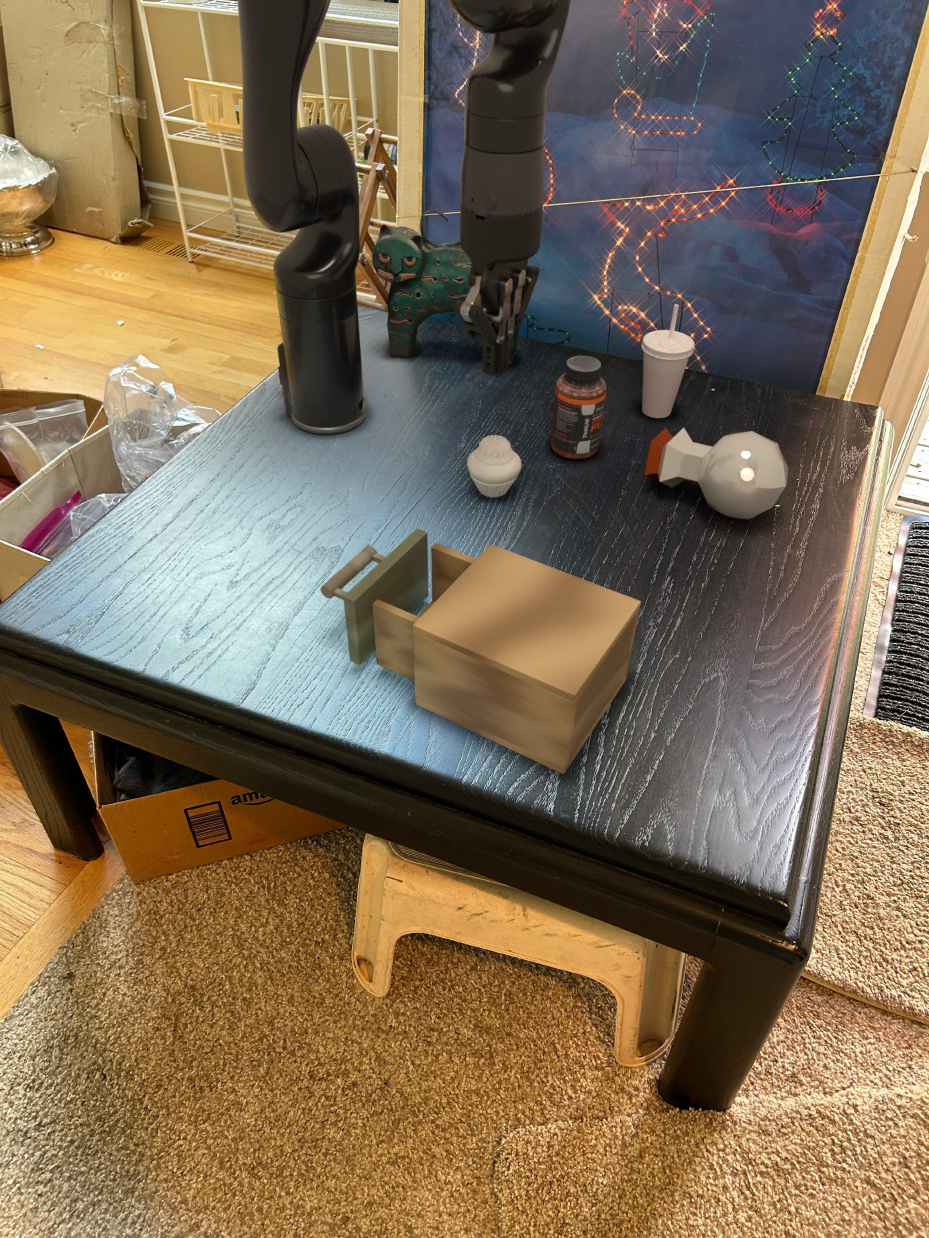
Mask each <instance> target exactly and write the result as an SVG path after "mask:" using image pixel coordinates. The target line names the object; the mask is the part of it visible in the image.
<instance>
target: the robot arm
mask: <svg viewBox="0 0 929 1238" xmlns="http://www.w3.org/2000/svg"><path fill="white" fill-rule="evenodd" d="M236 1H237V11H238V24H239V26H238V28H239V39H240V55H241V56H240V57H241V76H242V77H241V79H242V80H241V81H242V82H241V83H242V84H241V85H242V166H243V167H242V168H243V175H244V184H245V188H246V191H247V192H246V193H247V197H248V199H249V203H250V206H251V208H252V210H253V213H254V215H255V216H256V218H257V220H258V221H259V222H260V224H261V225H263V227H265V229H267V230H269V231H271V232H273V233H277V234H282V233H289V232H294V231H298V232H297V233H296V235H295V236H294V238H293V239H292V240H291V241H290V242H289V243H288V245H287V246H286V247H285V248H283V249H282V250H280V252H279V253H278V254H277V256H276V258H275V259H274V262H273V266H272V267H273V269H272V270H273V271H272V272H273V279H274V286H275V294H276V302H277V308H278V310H277V311H278V315H279V317H278V318H279V324H280V332H281V338H282V339H281V340H282V342H280V344H278V345H277V357H278V364H279V366H278V367H277V371H278V379H279V385H281V387H282V393H283V401H284V408H285V415H286V417H287V418H291V421H292V422H293V424H294V425H295V426H296V427H297V428H298V429H300V430H303V431H305V432H308V433H312V434H319V435H332V434H339V433H344V432H347V431H350V430H353V429H355V428H356V427H358V426H359V425H361V424H362V423H363V422H364V420H365V418H366V416H367V412H366V411H367V410H366V404H367V401H368V400H367V394H365V393H364V377H363V376H364V375H363V363H362V351H361V350H362V349H361V334H360V321H359V320H360V319H359V307H358V293H357V278H356V277H357V276H356V270H357V266H358V263H359V260H360V254H361V238H360V237H361V236H360V235H361V234H360V233H361V231H360V228H361V227H360V188H359V187H360V185H359V177H358V176H359V175H358V170H357V166H356V161H355V157H354V154H353V152H352V149H351V146H350V145H349V143H348V141H347V140H346V138H345V136H344V135H343V134H342V133H341V132H340V131H339V130H338V129H337V128H335V127H334V126H332V125H330V124H326V123H316V124H310V125H309V124H308V125H305V126H301V127H298V105H299V95H300V90H301V83H302V80H303V76H304V72H305V70H306V67H307V64H308V62H309V59H310V56H311V53H312V51H313V49H314V46H315V44H316V41H317V39H318V36H319V35H320V34H319V33H320V31H321V29H322V26H323V24H324V21H325V19H326V16H327V14H328V11H329V8H330V5H331V1H332V0H236ZM447 1H448V3H449V4H450V6H451V8H452V10H454V12H455V13H456V14H457V15H458V17H459V18H460V19H461V20H462V21H463V22H464V23H465V24H466V25H468V26H469V27H470V28H471V29H473V30H474V31H477V32H478V33H482V34H486V35H493V36H492V42H491V45H490V48H489V51H488V53H487V55H486V56H485V57H484V58H483V59H482V60H481V61H480V62H479V63H477V64H476V65H475V66H474V67H473V68H472V69H471V70H470V71H469V73H468V75H467V78H466V83H465V89H464V110H463V111H464V115H463V117H464V118H463V119H464V120H463V121H464V122H463V128H464V129H463V150H462V151H463V152H462V158H461V166H460V201H459V202H460V204H459V206H460V208H459V210H460V211H459V213H460V215H459V220H460V221H459V225H460V227H459V241H460V246H461V248H462V250H463V251H464V252H465V253H466V254H467V255H468V257H469V258H470V260H471V263H472V264H471V270H470V274H469V278H468V285H469V288H470V291H469V293H468V295H467V297H466V299H465V301H464V302H462V301H459V300H458V301H456V302H455V304H454V312H453V313H454V315H455V316H456V319H457V320H458V321H459V323H460V325H461V326H462V328H463V330H464V331H465V333H466V335H467V336H468V338H469V339H470V340H472V341H475V342H480V343H482V360H481V361H482V362H481V364H482V365H481V369H482V372H483V373H484V374H485V375H489V376H492V377H495V378H499V377H502V375H503V374H505V373H506V372H508V369H509V365H508V352H509V339H510V338H511V337H512V336H513V333H514V326H515V325H517V326H520V327H521V325H522V324H523V320H524V317H525V315H526V312H527V310H528V306H529V305H530V304H529V303H530V301H531V298H532V295H533V292H534V290H535V287H536V285H537V282H538V278H539V276H540V271H541V270H540V267H538V266H535V265H530V264H529V259H531V258H532V257H534V256H535V255H536V254H538V252H539V250H540V247H541V238H542V224H543V221H542V220H543V211H544V210H543V209H544V197H545V196H544V193H545V180H546V162H545V138H546V127H547V126H546V124H547V111H548V110H547V109H548V91H549V87H550V83H551V80H552V76H553V73H554V70H555V67H556V64H557V60H558V57H559V53H560V49H561V45H562V42H563V37H564V33H565V30H566V26H567V22H568V19H569V14H570V9H571V4H572V0H447Z"/></svg>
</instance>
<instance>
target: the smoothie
mask: <svg viewBox="0 0 929 1238" xmlns="http://www.w3.org/2000/svg"><path fill="white" fill-rule="evenodd" d="M679 308H680V305H679V304H676V303H675V304H673V310H672V315H671V322H670V327H669V329H659V330H653V331H651V332H648V333H646V334H645V335H644V336H643V338H642V342H641V349H642V352H643V362H642V363H643V364H642V365H643V367H642V395H641V396H642V397H641V398H642V399H641V400H642V401H641V412H642V413H643V414H644V415H645V416H647V417H649V418H653V419H664V418H667V417H669V416H670V415H671V413H672V410H673V407H674V404H675V400H676V398H677V395H678V392H679V389H680V387H681V382H682V381H683V380H682V379H683V377H684V373H685V371H686V368H687V365H688V363H689V358H690V357H691V356H692V355H693V354H694V352H695V351H694V350H695V349H694V348H695V341H694V340H693V338H692V337H691V336H689V335H688V334H686V333H683V332H681V331H677V330H675V329H676V324H677V318H678V313H679Z"/></svg>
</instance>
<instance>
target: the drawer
mask: <svg viewBox="0 0 929 1238" xmlns="http://www.w3.org/2000/svg"><path fill="white" fill-rule="evenodd" d="M428 539H429V538H428V531H425V530H424V529H423V530H422V529H420V528H416V529H414V530H413V532H411V533H410V534H409V535H408V536H407V537H406V538H405V539H404V540H403V541H401V543H399V544H398V546H396V547H395V548H394V549H393V550H391V552H390V553H388V554H387V555H386V556H385V555H382V554H379V553H378V551H377V549H375V547H374V546H372V545H367V546H365V547H364V548H363V549H361V551H359V552H358V553H357V554H356V555H355V556H354V557H353V558H352V559H350V560H349V561H348V562H347V563H346V564H344V566H342V567H341V568H340V569H338V571H337V572H336V573H335V574H333V575H332V576H331V577H330V578H329V579H328V580H327V581H326V582H325V583H323V584H322V585H321V586H320V593H321V595H322V596H323V597H324V598H326V599H329V600H330V599H333V598H334V597H335V598H337V599H339V600H342V601H343V608H344V617H345V618H344V619H345V628H346V635H347V643H348V644H347V646H348V656H349V661H350V662H352V663H354V664H356V665H358V666H361V665H362V664H363V663H364V662H365V661H366V660H368V658H369V657H371V655H373V653H374V652H375V658H376V659H375V660H376V665H378V666H380V667H382V668H385V669H386V670H388V671H391V672H393V673H395V674H397V675H399V676H401V677H404V678H406V679H408V680H410V681H412V682H414V683H415V670H414V642H413V624H414V623H415V622H416V621H417V620H418V619H419V618H420V617H421V616H422V615H423V614H424V613H425V612H426V611H427V610H428V609H429V608H430V607H431V606H432V605H433V604H434V603H435V601H436V600H437V599H438V598H439V597H440V596H441V595H442V594H443V593H444V592H445V591H446V590H447V589H448V588H449V587H450V586H451V585H452V584H453V583H454V582H455V581H456V580H457V579H458V578H459V577H460V575H461V574H462V573H463V572H464V571H465V570H466V569H467V568H468V567H469V566H470V565H471V564H472V563H473V562H474V561H475V560H476V559H477V558H476V557H473V556H470V555H468V554H465V553H463V552H460V551H458V550H455V549H453V548H450V547H448V546H444V545H442V544H441V543H437V542H435V543H434V544H433V545H432V546H431V547H430V559H431V560H430V561H431V562H430V563H431V564H430V565H431V566H430V567H431V601H430V602H428V603H427V605H426V606H425V607H424V608H423V609H422V610H421V611H420V612H419V613H418V614H417V615H415V614H413V612H415V610H416V609H417V608H419V606H420V605H421V604H422V603H424V601H425V600H426V599H427V598H428V597H429V593H430V591H429V589H430V588H429V541H428ZM372 562H375V563H377V564H376V565H375V567H373V569H371V570H370V571H369V572H367V574H365V576H364V577H363V578H362V579H361V580H359V581H358V582H357V583H356V584H354V586H353V587H352V588H350V589H349V591H345V590H343V589H344V587H346V586H347V585H348V584H349V583H350V582H351V581H353V579H355V578H356V577H357V576H358V575H359V574H360V573H361V572H362V571H363V570H364V569H365V568H366V567H368V566H369V565H370V564H371V563H372Z"/></svg>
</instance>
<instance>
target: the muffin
mask: <svg viewBox="0 0 929 1238" xmlns="http://www.w3.org/2000/svg"><path fill="white" fill-rule="evenodd" d="M466 465H467V470H468V472H469V476H470V478H471V479H472V481H473V483H474V485H475V487H476V488H477V490H478V492H480V494H481V495H483V496H484V497H486V498H500V497H502V496H505V494H507V493H508V491H509V490H510V488H511V487H512V485H513V484H514V482H515V481H516V479H517V478H518V475H519V474H520V472H521V470H522V459H521V457H520V456H519V454H518V453H517V452H515V451H514V450H513V448H512V445H511V442H510V441H509V440H508V438H506V437H505V436H502V435H499V434H491V435H486V437H483V438H482V439H481V440H480V441H479V443H478V447H476V448H475V449H473V450H472V452H471V453H470V454H469V455H468V457H467V460H466Z"/></svg>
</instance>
